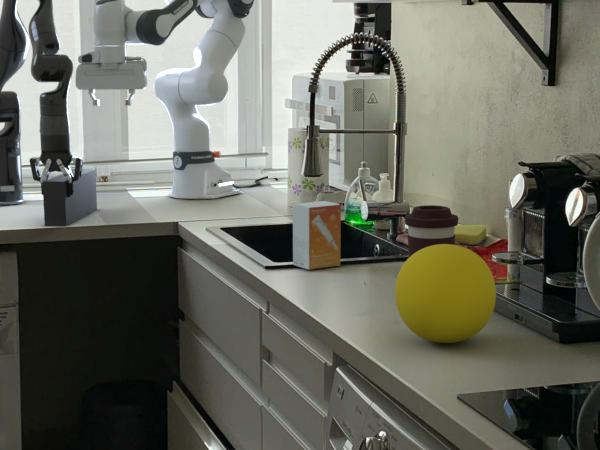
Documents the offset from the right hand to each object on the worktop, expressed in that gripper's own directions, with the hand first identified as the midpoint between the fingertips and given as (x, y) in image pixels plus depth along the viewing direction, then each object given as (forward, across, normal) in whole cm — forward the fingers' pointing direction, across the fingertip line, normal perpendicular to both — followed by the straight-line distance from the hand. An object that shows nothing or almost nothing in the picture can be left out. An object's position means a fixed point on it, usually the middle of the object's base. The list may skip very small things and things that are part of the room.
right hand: (112, 105), depth 298 cm
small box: (+29, -65, +81) cm, 108 cm away
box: (+29, +7, +19) cm, 36 cm away
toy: (+29, -89, +136) cm, 165 cm away
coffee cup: (+29, -88, +98) cm, 135 cm away
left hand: (+22, +7, +30) cm, 38 cm away
